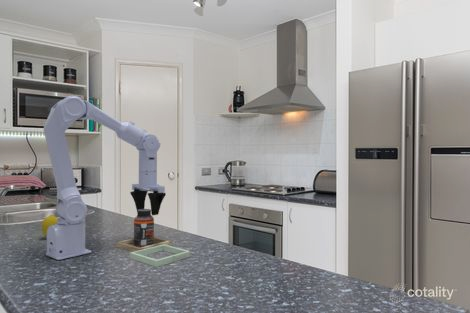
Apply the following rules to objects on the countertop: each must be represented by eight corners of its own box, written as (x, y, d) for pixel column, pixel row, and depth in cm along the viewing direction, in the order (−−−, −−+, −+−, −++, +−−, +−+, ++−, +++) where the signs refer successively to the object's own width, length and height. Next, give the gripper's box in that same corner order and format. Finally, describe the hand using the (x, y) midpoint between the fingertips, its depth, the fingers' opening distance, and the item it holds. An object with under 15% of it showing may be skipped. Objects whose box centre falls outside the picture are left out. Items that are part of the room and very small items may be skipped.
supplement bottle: (148, 249, 103) (148, 211, 103) (130, 248, 104) (130, 210, 104) (157, 244, 109) (157, 208, 109) (139, 243, 110) (139, 207, 110)
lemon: (63, 237, 119) (63, 213, 119) (53, 241, 113) (53, 216, 113) (48, 236, 119) (48, 213, 119) (37, 240, 114) (37, 216, 114)
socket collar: (139, 254, 99) (139, 248, 99) (116, 247, 106) (116, 242, 106) (170, 245, 108) (170, 241, 108) (147, 239, 115) (147, 235, 115)
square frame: (156, 267, 87) (156, 261, 87) (129, 258, 95) (129, 252, 95) (190, 256, 96) (190, 251, 96) (163, 249, 104) (163, 244, 104)
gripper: (172, 171, 111) (172, 214, 111) (144, 170, 120) (144, 209, 120) (154, 172, 106) (154, 217, 106) (126, 171, 115) (126, 212, 115)
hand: (147, 213), depth 113 cm, fingers open, 7 cm apart
